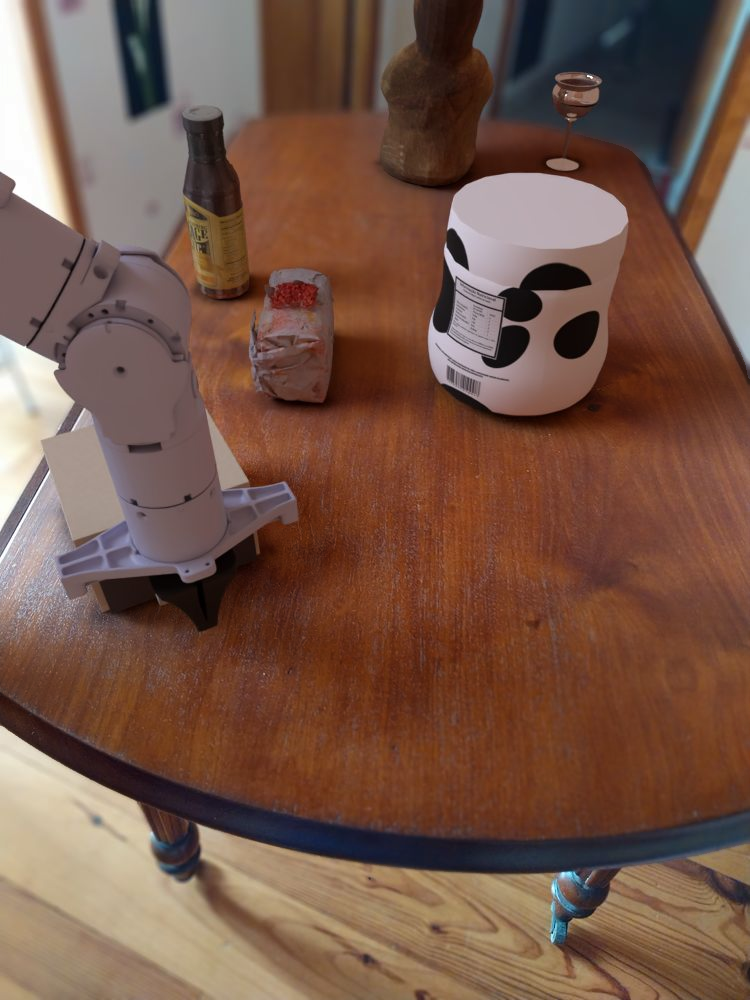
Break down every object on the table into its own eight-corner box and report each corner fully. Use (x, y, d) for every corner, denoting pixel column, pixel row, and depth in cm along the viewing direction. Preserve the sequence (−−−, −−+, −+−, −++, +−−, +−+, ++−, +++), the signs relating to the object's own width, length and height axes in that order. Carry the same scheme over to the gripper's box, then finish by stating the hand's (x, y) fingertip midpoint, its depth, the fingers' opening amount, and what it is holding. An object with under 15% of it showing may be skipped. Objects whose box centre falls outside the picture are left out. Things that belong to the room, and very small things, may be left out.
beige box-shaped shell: (260, 554, 60) (249, 481, 54) (102, 613, 56) (72, 541, 50) (212, 466, 67) (198, 394, 62) (69, 512, 63) (39, 439, 57)
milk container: (585, 337, 83) (626, 172, 70) (605, 439, 71) (659, 262, 58) (428, 328, 84) (440, 163, 71) (421, 427, 71) (435, 250, 59)
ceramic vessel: (472, 147, 121) (496, -87, 100) (496, 207, 106) (530, -55, 84) (375, 148, 120) (378, -87, 99) (384, 208, 105) (390, -55, 83)
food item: (334, 412, 73) (331, 324, 66) (252, 412, 73) (240, 324, 66) (336, 334, 83) (334, 250, 76) (264, 334, 82) (254, 250, 75)
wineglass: (534, 157, 119) (548, 72, 110) (575, 154, 119) (591, 71, 111) (548, 174, 114) (564, 87, 105) (591, 171, 115) (609, 85, 106)
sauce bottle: (192, 281, 90) (160, 103, 76) (242, 271, 92) (220, 95, 78) (207, 308, 86) (177, 125, 72) (259, 297, 88) (240, 116, 74)
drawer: (277, 595, 56) (269, 539, 52) (125, 655, 52) (103, 600, 48) (213, 477, 65) (201, 420, 61) (79, 521, 61) (57, 464, 57)
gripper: (44, 565, 37) (111, 706, 47) (311, 477, 42) (323, 622, 52) (23, 479, 42) (89, 624, 52) (267, 408, 47) (285, 553, 56)
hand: (204, 618), depth 52 cm, fingers closed, pressing on drawer
